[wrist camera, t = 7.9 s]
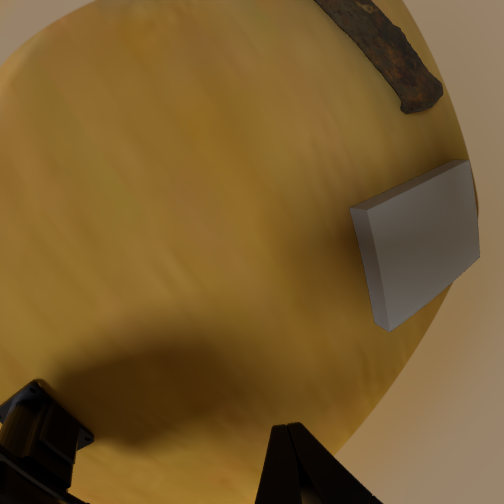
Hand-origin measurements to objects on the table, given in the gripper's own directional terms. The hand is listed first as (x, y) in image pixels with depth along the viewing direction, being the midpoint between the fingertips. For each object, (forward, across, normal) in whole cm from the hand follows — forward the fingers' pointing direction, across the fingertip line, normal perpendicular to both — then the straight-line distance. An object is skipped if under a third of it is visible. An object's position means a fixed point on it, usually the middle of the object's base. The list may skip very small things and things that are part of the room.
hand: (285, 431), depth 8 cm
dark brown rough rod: (+16, -7, -18) cm, 25 cm away
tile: (+13, -9, +1) cm, 16 cm away
